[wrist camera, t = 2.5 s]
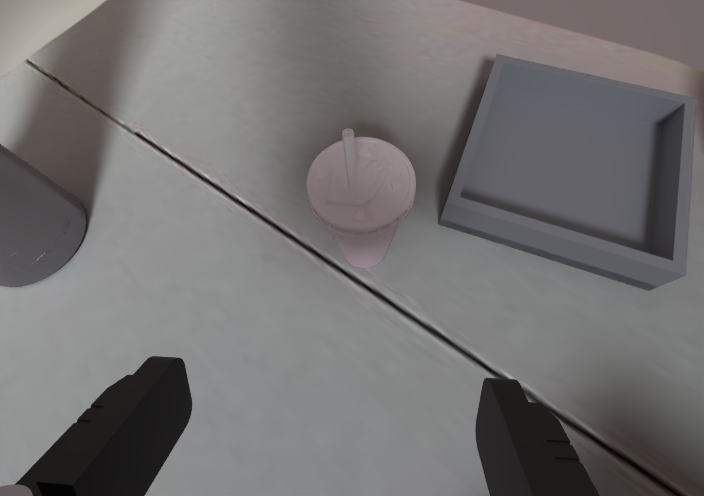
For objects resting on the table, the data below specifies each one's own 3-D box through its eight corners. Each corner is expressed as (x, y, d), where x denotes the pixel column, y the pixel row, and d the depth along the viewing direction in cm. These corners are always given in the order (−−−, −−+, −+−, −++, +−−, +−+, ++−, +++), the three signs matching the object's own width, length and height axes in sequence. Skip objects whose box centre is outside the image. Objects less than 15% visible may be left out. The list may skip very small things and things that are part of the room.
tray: (438, 224, 30) (446, 202, 27) (485, 85, 36) (496, 54, 33) (648, 290, 27) (685, 275, 24) (664, 128, 33) (696, 98, 30)
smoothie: (309, 239, 30) (263, 118, 18) (371, 198, 32) (371, 56, 19) (355, 300, 28) (341, 213, 15) (420, 253, 29) (457, 136, 17)
